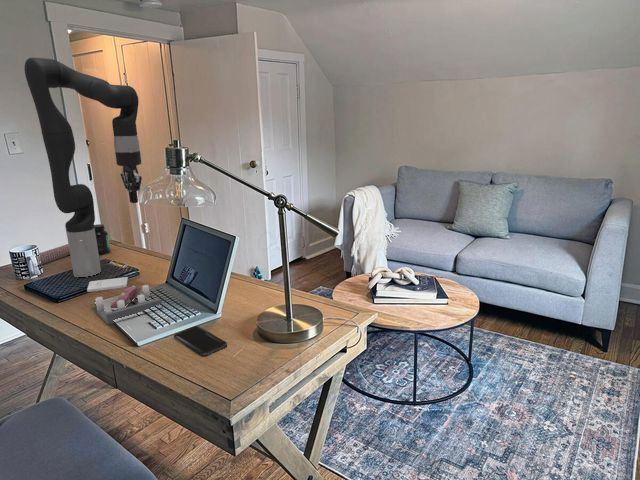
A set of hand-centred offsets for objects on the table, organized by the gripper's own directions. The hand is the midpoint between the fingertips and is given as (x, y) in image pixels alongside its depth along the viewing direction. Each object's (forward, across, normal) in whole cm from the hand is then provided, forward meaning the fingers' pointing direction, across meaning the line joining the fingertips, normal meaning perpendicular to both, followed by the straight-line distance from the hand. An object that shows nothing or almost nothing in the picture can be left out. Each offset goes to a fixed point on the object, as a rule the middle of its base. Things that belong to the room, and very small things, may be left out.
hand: (134, 202), depth 153 cm
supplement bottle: (+29, -47, 0) cm, 55 cm away
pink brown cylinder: (+30, -51, -17) cm, 62 cm away
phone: (+30, +51, -5) cm, 59 cm away
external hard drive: (+30, -7, -10) cm, 32 cm away
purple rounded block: (+29, +14, -11) cm, 34 cm away
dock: (+29, +19, -12) cm, 37 cm away
